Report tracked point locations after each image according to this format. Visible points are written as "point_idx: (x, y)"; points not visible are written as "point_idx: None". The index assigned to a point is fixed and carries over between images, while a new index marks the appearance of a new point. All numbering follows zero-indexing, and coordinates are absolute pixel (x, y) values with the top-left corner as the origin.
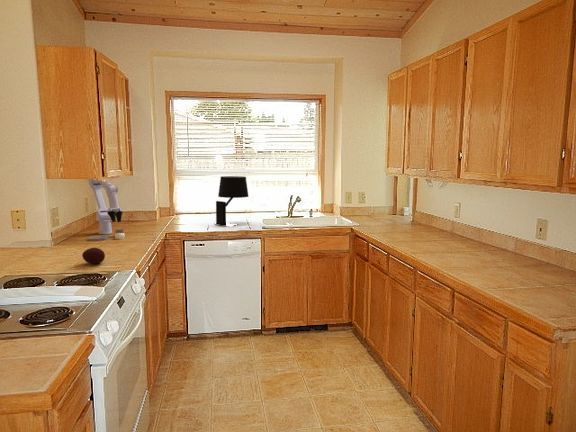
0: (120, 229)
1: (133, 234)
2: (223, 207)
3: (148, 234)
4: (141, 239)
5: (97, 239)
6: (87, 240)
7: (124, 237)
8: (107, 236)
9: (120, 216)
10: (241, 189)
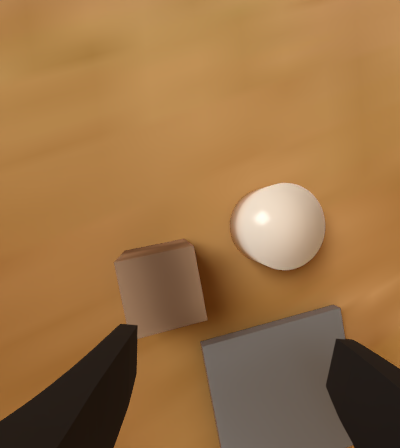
0: (168, 278)
1: (49, 184)
2: None
3: (31, 30)
4: (285, 35)
5: None
6: None
7: (258, 189)
8: (238, 350)
9: (86, 413)
10: None
